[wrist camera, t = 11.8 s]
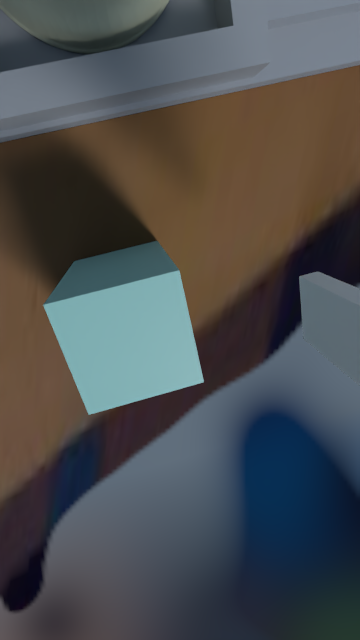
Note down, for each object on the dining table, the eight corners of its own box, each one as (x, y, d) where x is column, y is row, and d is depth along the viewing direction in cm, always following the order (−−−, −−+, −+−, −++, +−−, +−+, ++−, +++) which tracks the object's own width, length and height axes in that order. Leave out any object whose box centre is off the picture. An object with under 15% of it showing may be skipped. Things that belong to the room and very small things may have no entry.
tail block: (100, 336, 21) (88, 414, 13) (74, 261, 19) (43, 305, 11) (175, 316, 21) (204, 382, 14) (157, 240, 19) (179, 270, 12)
